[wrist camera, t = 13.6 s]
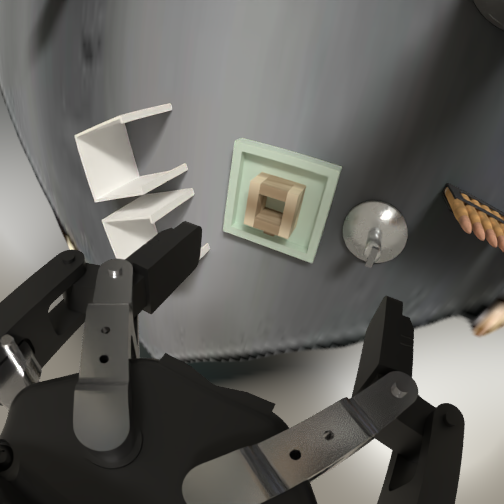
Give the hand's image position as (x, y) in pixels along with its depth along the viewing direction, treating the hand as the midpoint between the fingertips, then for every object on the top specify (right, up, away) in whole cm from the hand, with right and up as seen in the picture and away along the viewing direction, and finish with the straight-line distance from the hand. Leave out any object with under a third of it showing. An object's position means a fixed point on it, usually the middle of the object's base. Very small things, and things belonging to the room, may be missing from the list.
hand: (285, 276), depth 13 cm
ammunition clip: (+28, +7, +21) cm, 35 cm away
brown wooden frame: (+2, +8, +31) cm, 32 cm away
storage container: (-16, +13, +39) cm, 44 cm away
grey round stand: (+15, +4, +29) cm, 33 cm away
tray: (+3, +8, +32) cm, 33 cm away
